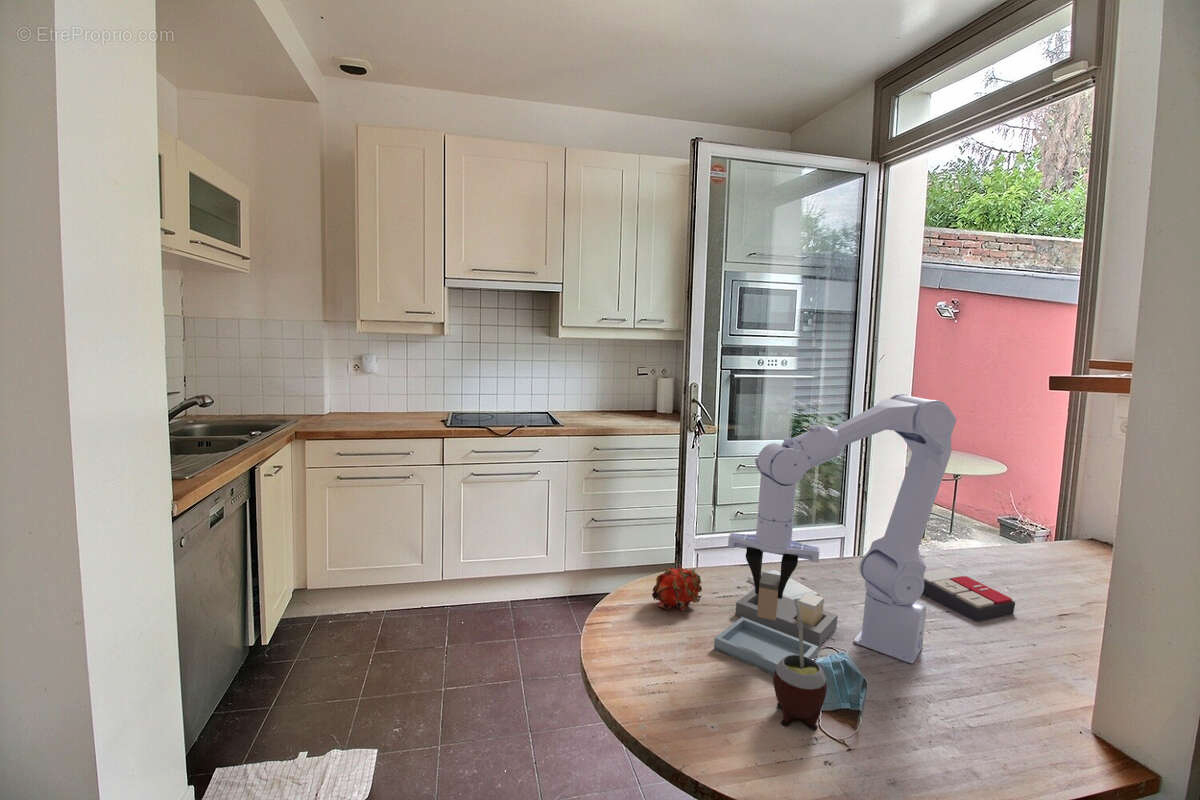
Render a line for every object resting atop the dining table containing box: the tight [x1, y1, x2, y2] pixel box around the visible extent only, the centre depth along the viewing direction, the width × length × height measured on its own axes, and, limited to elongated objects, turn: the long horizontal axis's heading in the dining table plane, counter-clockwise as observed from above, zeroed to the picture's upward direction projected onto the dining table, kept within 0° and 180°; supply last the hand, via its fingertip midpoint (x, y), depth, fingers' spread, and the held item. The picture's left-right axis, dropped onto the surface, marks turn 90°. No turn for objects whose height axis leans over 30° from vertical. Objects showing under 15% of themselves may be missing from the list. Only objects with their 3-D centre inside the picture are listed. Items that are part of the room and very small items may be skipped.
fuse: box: [797, 593, 825, 627], centre depth 105 cm, size 3×4×6 cm, turn 140°
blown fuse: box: [757, 571, 780, 620], centre depth 97 cm, size 3×4×6 cm, turn 158°
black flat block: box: [921, 568, 1016, 623], centre depth 119 cm, size 11×4×15 cm
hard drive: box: [747, 569, 820, 601], centre depth 122 cm, size 2×8×12 cm
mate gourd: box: [772, 599, 828, 732], centre depth 81 cm, size 8×8×15 cm
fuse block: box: [735, 588, 838, 648], centre depth 108 cm, size 16×9×2 cm, turn 49°
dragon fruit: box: [651, 564, 703, 612], centre depth 112 cm, size 8×8×12 cm
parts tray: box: [713, 617, 819, 676], centre depth 97 cm, size 14×10×2 cm
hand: (769, 593), depth 97 cm, fingers closed on blown fuse, 3 cm apart
